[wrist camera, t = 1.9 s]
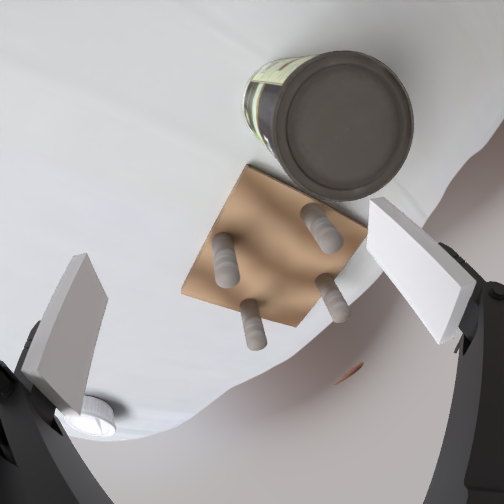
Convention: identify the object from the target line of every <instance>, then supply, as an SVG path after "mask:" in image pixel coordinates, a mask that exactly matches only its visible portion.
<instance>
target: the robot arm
mask: <svg viewBox="0 0 504 504" xmlns="http://www.w3.org/2000/svg"><path fill="white" fill-rule="evenodd" d="M367 251H368V252H369V253H370V254H371V255H372V257H373V258H374V259H375V260H376V262H377V263H378V264H379V265H380V267H381V268H382V269H383V270H384V272H385V273H386V274H387V275H388V277H389V278H390V279H391V281H392V282H393V283H394V284H395V286H396V287H397V288H398V289H399V291H400V292H401V294H402V295H403V296H404V298H405V299H406V300H407V302H408V303H409V304H410V305H411V307H412V308H413V310H414V311H415V312H416V314H417V315H418V316H419V318H420V319H421V321H422V322H423V323H424V325H425V326H426V328H427V329H428V330H429V332H430V333H431V334H432V336H433V338H434V339H435V340H436V342H437V343H438V345H439V344H442V343H444V342H446V341H449V340H451V339H453V338H454V336H455V334H456V331H457V329H458V327H459V328H460V330H461V331H462V332H463V334H462V336H461V338H460V340H459V343H458V344H457V347H456V348H455V351H454V353H457V351H458V349H459V348H460V349H459V358H458V367H457V374H456V381H455V388H454V394H453V399H452V404H451V409H450V414H449V419H448V424H447V428H446V432H445V436H444V440H443V444H442V448H441V451H440V455H439V459H438V462H437V465H436V468H435V472H434V475H433V478H432V481H431V484H430V486H429V490H428V492H427V495H426V497H425V500H424V502H423V504H504V285H502V284H500V283H498V282H492V281H490V282H486V281H484V279H483V278H482V277H481V276H480V275H479V274H478V273H477V272H476V271H475V270H474V269H473V268H472V267H471V266H470V265H469V264H468V263H465V260H463V259H462V258H461V257H459V255H458V254H457V253H456V252H455V251H454V250H453V249H452V248H450V247H448V246H447V245H445V244H443V243H437V242H436V241H434V240H433V239H432V238H431V237H430V236H429V235H428V234H427V233H426V232H424V231H423V230H422V229H421V228H420V227H419V226H418V225H417V224H415V223H414V222H413V221H412V220H411V219H410V218H408V217H407V216H406V215H405V214H404V213H402V212H401V211H400V210H399V209H398V208H396V207H395V206H394V205H393V204H392V203H390V202H389V201H388V200H387V199H385V198H384V197H381V198H375V199H370V207H369V223H368V237H367ZM107 302H108V297H107V295H106V293H105V291H104V289H103V287H102V285H101V283H100V281H99V279H98V277H97V275H96V272H95V270H94V268H93V266H92V264H91V261H90V259H89V257H88V255H87V253H85V254H80V255H76V256H73V258H72V260H71V261H70V263H69V265H68V267H67V269H66V271H65V273H64V274H63V276H62V278H61V280H60V282H59V284H58V286H57V288H56V290H55V292H54V294H53V296H52V298H51V300H50V302H49V304H48V307H47V309H46V311H45V313H44V315H43V317H42V320H41V321H38V322H37V324H36V325H35V326H34V327H33V329H32V330H31V332H30V334H29V336H28V339H27V342H26V344H25V346H24V349H23V351H22V353H21V356H20V358H19V361H18V363H17V366H16V369H15V371H14V374H13V372H12V371H11V370H10V369H9V368H8V367H7V366H6V364H5V363H4V362H3V361H0V504H114V503H113V502H112V501H111V499H110V498H109V497H108V496H107V494H106V493H105V492H104V490H103V489H102V488H101V486H100V485H99V483H98V482H97V481H96V479H95V478H94V476H93V475H92V473H91V472H90V470H89V469H88V467H87V466H86V464H85V463H84V461H83V460H82V458H81V457H80V455H79V454H78V452H77V450H76V449H75V447H74V445H73V444H72V442H71V440H70V439H69V437H68V435H67V434H66V432H65V430H64V428H63V426H62V425H61V423H60V421H59V419H58V418H57V417H56V416H55V415H54V413H55V409H56V408H57V409H58V410H59V411H60V412H61V413H62V414H63V415H64V416H80V415H81V410H82V404H83V399H84V394H85V389H86V384H87V379H88V375H89V370H90V366H91V362H92V357H93V353H94V349H95V345H96V341H97V337H98V334H99V330H100V326H101V323H102V319H103V316H104V312H105V309H106V305H107Z"/></svg>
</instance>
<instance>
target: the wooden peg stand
mask: <svg viewBox="0 0 504 504" xmlns="http://www.w3.org/2000/svg"><path fill="white" fill-rule="evenodd" d="M367 234H368V228H367V227H366V226H364V225H362V224H360V223H359V222H357V221H355V220H353V219H352V218H350V217H348V216H346V215H344V214H343V213H341V212H339V211H337V210H335V209H334V208H332V207H330V206H328V205H326V204H324V203H322V202H321V201H319V200H317V199H315V198H313V197H311V196H309V195H307V194H305V193H303V192H302V191H300V190H298V189H296V188H294V187H292V186H290V185H288V184H286V183H284V182H282V181H280V180H278V179H276V178H274V177H272V176H270V175H268V174H266V173H264V172H262V171H260V170H257V169H255V168H253V167H251V166H249V165H247V164H246V166H245V168H244V170H243V171H242V173H241V175H240V177H239V179H238V180H237V182H236V184H235V186H234V188H233V190H232V191H231V193H230V195H229V197H228V199H227V201H226V203H225V204H224V206H223V208H222V210H221V212H220V214H219V216H218V218H217V219H216V221H215V223H214V225H213V227H212V229H211V231H210V233H209V235H208V237H207V239H206V240H205V242H204V244H203V246H202V248H201V250H200V252H199V254H198V256H197V258H196V260H195V262H194V264H193V266H192V268H191V270H190V272H189V274H188V276H187V278H186V280H185V282H184V284H183V286H182V288H181V294H184V295H187V296H190V297H193V298H196V299H199V300H202V301H206V302H209V303H212V304H215V305H219V306H222V307H225V308H229V309H232V310H235V311H239V312H241V316H242V322H243V327H244V332H245V337H246V342H247V347H248V348H249V349H250V350H253V351H258V350H261V349H263V348H265V347H266V345H267V339H266V336H265V332H264V328H263V324H262V320H261V318H263V319H267V320H271V321H274V322H278V323H282V324H285V325H289V326H293V327H297V326H298V325H299V323H300V322H301V321H302V320H303V318H304V317H305V316H306V315H307V314H308V312H309V311H310V310H311V309H312V307H313V306H314V305H315V304H316V302H317V301H318V300H319V298H320V297H321V296H322V298H323V300H324V302H325V304H326V306H327V309H328V311H329V313H330V315H331V317H332V319H333V321H334V322H337V323H340V322H343V321H345V320H347V319H348V318H349V317H350V315H351V310H350V308H349V306H348V305H347V303H346V301H345V299H344V298H343V296H342V294H341V292H340V291H339V289H338V287H337V285H336V284H335V282H334V279H335V278H336V277H337V275H338V274H339V273H340V271H341V270H342V269H343V267H344V266H345V265H346V263H347V262H348V261H349V259H350V258H351V256H352V255H353V254H354V252H355V251H356V250H357V248H358V247H359V245H360V244H361V243H362V241H363V240H364V239H365V237H366V236H367Z"/></svg>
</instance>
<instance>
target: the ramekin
mask: <svg viewBox="0 0 504 504" xmlns="http://www.w3.org/2000/svg"><path fill="white" fill-rule="evenodd" d="M64 419H65V421H66V422H67V424H68V425H69V426H71V427H72V428H74V429H76V430H78V431H80V432H82V433H85V434H89V435H93V436H110V435H113V434H114V433H115V432H116V426H115V422H114V413H113V410H112V408H111V407H110V405H109V404H107V403H106V402H104V401H103V400H101V399H98V398H95V397H91V396H85V395H84V399H83V404H82V410H81V415H80V416H64Z"/></svg>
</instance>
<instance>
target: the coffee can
mask: <svg viewBox="0 0 504 504" xmlns="http://www.w3.org/2000/svg"><path fill="white" fill-rule="evenodd" d="M242 109H243V116H244V119H245V121H246V124H247V126H248V127H249V129H250V131H251V132H252V133H253V134H254V136H255V137H256V138H258V139H259V140H260V141H261V142H262V143H263V144H264V145H265V146H266V147H267V149H268V150H269V151H270V152H271V153H272V154H273V155H274V157H275V158H276V159H277V160H278V161H279V162H280V164H281V166H282V167H283V169H284V170H285V172H286V173H287V175H288V176H289V177H290V178H291V179H292V180H293V181H294V182H295V183H296V184H297V185H298V186H299V187H300V188H302V189H303V190H305V191H306V192H308V193H310V194H312V195H314V196H316V197H318V198H321V199H325V200H329V201H338V202H342V201H353V200H358V199H361V198H364V197H367V196H368V195H371V194H373V193H375V192H377V191H378V190H380V189H381V188H383V187H384V186H385V185H386V184H387V183H389V182H390V181H391V180H392V178H393V177H394V176H395V175H396V174H397V173H398V171H399V170H400V168H401V167H402V165H403V164H404V162H405V160H406V158H407V155H408V153H409V150H410V147H411V144H412V139H413V132H414V117H413V110H412V106H411V102H410V99H409V96H408V94H407V92H406V90H405V88H404V86H403V84H402V83H401V81H400V80H399V78H398V77H397V76H396V74H395V73H394V72H393V71H392V70H391V69H390V68H389V67H387V66H386V65H385V64H384V63H382V62H381V61H379V60H377V59H375V58H374V57H371V56H369V55H366V54H363V53H360V52H354V51H333V52H328V53H324V54H320V55H314V56H305V57H298V58H291V59H290V58H287V59H279V60H275V61H273V62H270V63H268V64H266V65H264V66H263V67H261V68H260V69H259V70H258V71H257V72H255V74H254V75H253V76H252V77H251V78H250V80H249V81H248V83H247V85H246V88H245V90H244V94H243V100H242Z"/></svg>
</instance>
